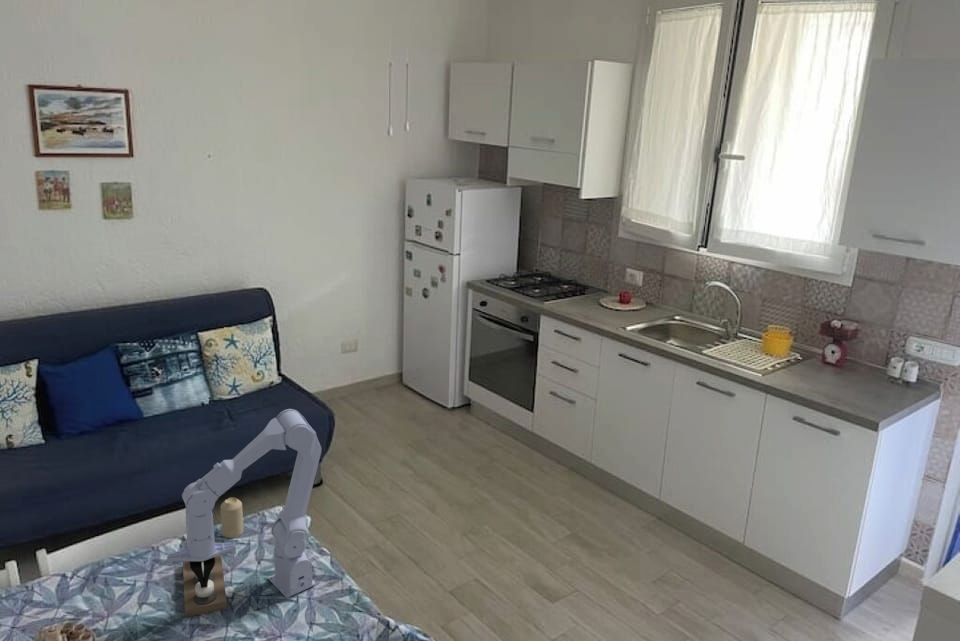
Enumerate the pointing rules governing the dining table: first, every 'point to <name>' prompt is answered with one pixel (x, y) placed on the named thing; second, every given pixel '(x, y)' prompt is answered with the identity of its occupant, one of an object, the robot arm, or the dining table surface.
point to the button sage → (202, 570)
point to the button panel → (204, 604)
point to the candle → (232, 518)
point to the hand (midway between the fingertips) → (204, 584)
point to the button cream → (204, 589)
